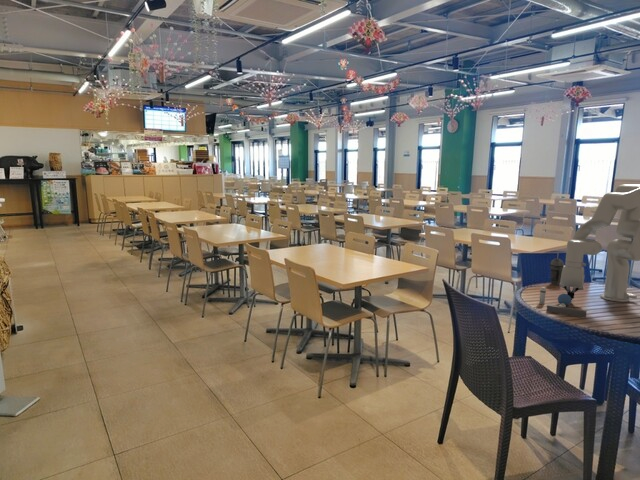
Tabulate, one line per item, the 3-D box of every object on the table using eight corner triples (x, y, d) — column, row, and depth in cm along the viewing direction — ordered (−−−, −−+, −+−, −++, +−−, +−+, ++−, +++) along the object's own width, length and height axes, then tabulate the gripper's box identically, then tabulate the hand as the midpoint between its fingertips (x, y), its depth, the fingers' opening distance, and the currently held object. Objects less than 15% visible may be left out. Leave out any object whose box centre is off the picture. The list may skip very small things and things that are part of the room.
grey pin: (545, 303, 217) (546, 287, 216) (544, 304, 215) (545, 288, 214) (539, 302, 219) (541, 286, 217) (538, 304, 217) (540, 287, 215)
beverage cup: (548, 284, 255) (551, 251, 252) (548, 281, 261) (551, 249, 258) (562, 286, 252) (565, 252, 249) (562, 283, 258) (565, 250, 255)
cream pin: (561, 302, 211) (555, 305, 205) (566, 304, 209) (561, 308, 203) (559, 306, 212) (553, 310, 206) (564, 309, 210) (559, 312, 204)
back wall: (585, 317, 197) (586, 310, 197) (585, 318, 196) (586, 312, 195) (547, 310, 207) (547, 304, 206) (546, 311, 205) (546, 305, 205)
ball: (568, 295, 210) (573, 306, 210) (568, 290, 214) (573, 300, 215) (555, 298, 213) (560, 309, 214) (555, 293, 218) (561, 303, 219)
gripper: (591, 265, 216) (588, 300, 218) (558, 261, 224) (554, 295, 227) (590, 267, 210) (586, 304, 213) (555, 263, 218) (552, 298, 221)
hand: (570, 299), depth 220 cm, fingers closed
